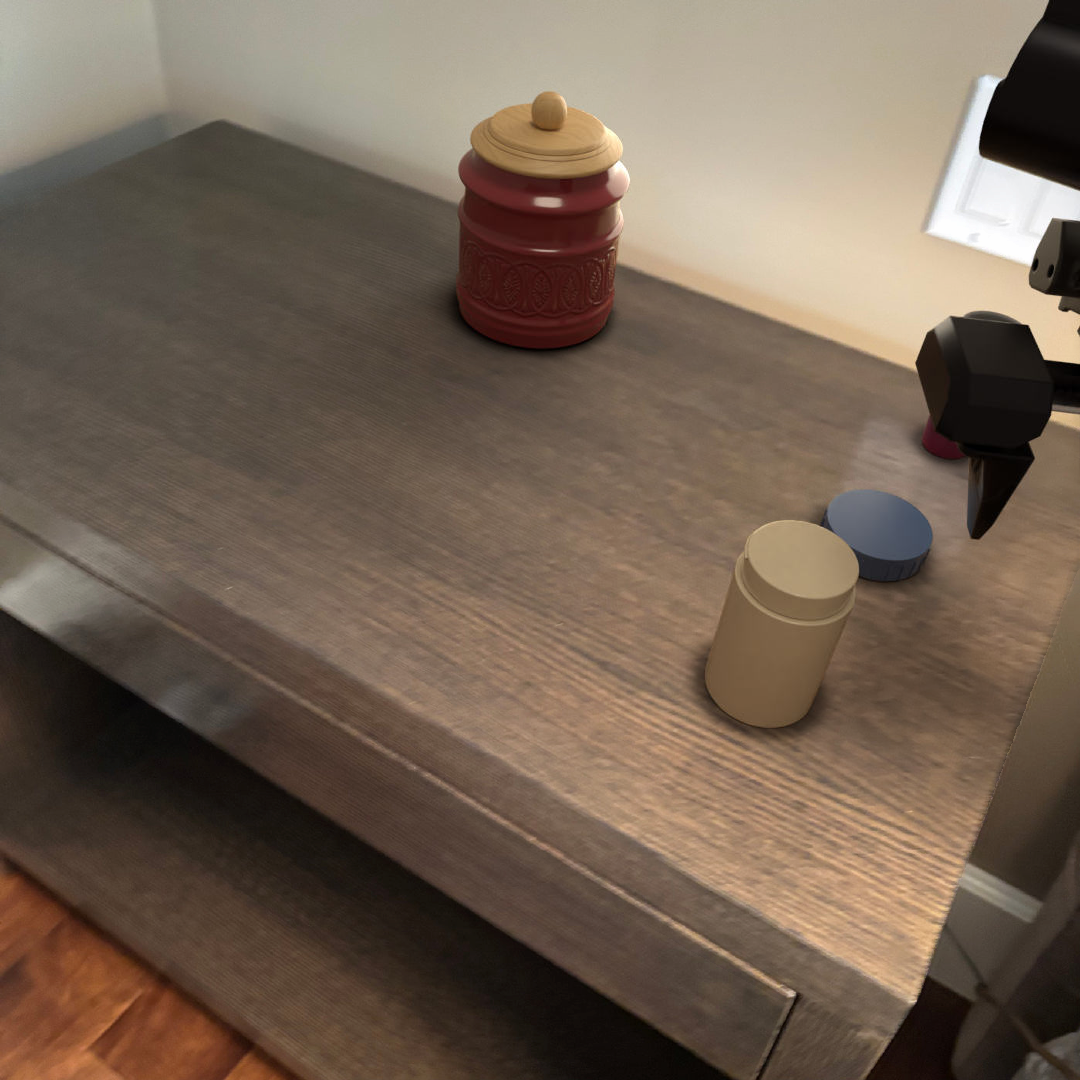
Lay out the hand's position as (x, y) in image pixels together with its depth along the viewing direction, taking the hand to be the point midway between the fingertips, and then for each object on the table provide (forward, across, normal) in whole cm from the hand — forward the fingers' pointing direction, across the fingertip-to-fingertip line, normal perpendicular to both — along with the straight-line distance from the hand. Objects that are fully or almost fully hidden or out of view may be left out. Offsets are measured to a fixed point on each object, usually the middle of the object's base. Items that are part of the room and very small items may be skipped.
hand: (1069, 545), depth 49 cm
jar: (+13, +12, 0) cm, 18 cm away
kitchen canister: (+13, +29, -37) cm, 49 cm away
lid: (+12, +4, -13) cm, 18 cm away
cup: (+13, -3, -25) cm, 28 cm away
